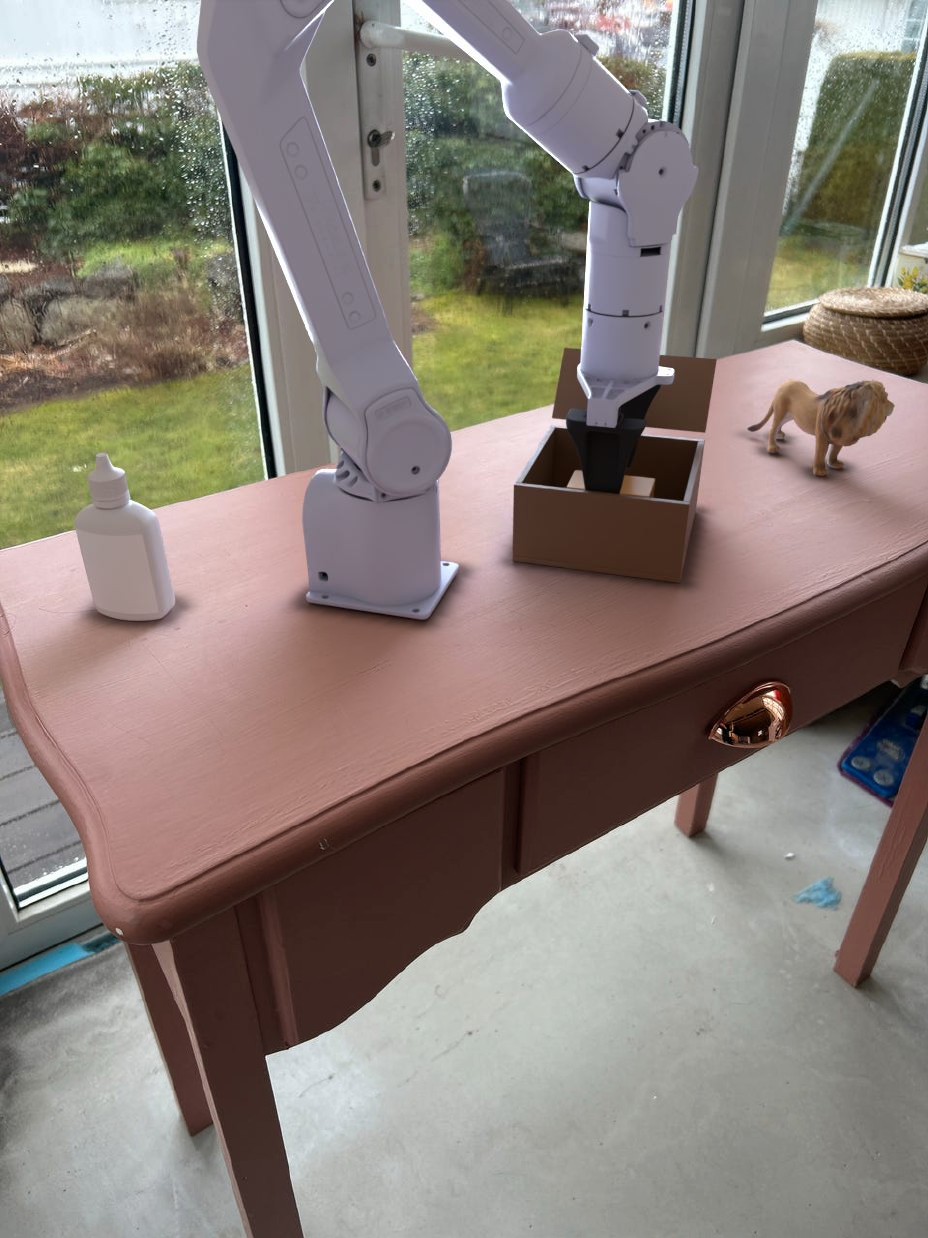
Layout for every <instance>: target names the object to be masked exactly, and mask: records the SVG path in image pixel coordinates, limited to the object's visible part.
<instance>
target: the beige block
mask: <svg viewBox="0 0 928 1238" xmlns="http://www.w3.org/2000/svg"><path fill="white" fill-rule="evenodd" d="M566 488H568V489H577V490H585V486H584V480H583V473H582V471H580V470H575V472H574V474H573V475H572V477H571V479H570V481H569V483H568V485H567V487H566ZM654 489H655V478H646V477H636V476H627V475H624V480H623V484H622V487H621V491H620V494H622V495H631V496H640V497H649V498H654Z"/></svg>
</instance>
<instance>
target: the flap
mask: <svg viewBox="0 0 928 1238" xmlns="http://www.w3.org/2000/svg"><path fill="white" fill-rule="evenodd" d="M561 358H562V359H561V362H560V369H559V375H558V379H557V386H556V392H555V397H554V402H553V408H552V415H551V419H553V420H554V419H555V420H565V421H566V416H567V414H568V412H569V411H570V409H581V410H587V408H588V398H587V396H586V394H585V392H584V390H583V388H582V386H581V384H580V382H579V380H578V378H577V368H578V365H579V364H580V363H581V348H573V347H563V352H562V357H561ZM717 362H718V359H717V358H711V357H709V358H707V357H696V356H682V355H669V354H668V355H667V354H660V359H659V366H660V367H665V368H672V369H674V370H675V374H674V380H673V383H672V384H670V385H661V388H660V389H659V391H658V392H657V394H656V395H655V397H654V399H653V400H652V402H651V404H650V406H649V408H648V410H647V413H646V416H645V419H644V420H647V421H648V422H647V424H646V427H645V428H650V429H661V430H673V431H683V432H691V433H702V434H705V433H706V432H707V425H708V419H709V412H710V406H711V399H712V393H713V386H714V381H715V373H716V367H717Z"/></svg>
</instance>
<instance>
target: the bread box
mask: <svg viewBox="0 0 928 1238" xmlns="http://www.w3.org/2000/svg"><path fill="white" fill-rule="evenodd" d="M705 443H706V439H700V438H690V437H679V436H678V437H677V436H669V435H659V434H658V435H657V434H649V433H648V434H647V433H642V434H641V436H640V437H639V441H638V444H637V448H636V451H635V455H634V458H633V460H632V463H631V465H630V467H626V471H625V475H627V476H636V477H646V478H655V489H654V498H649V497H640V496H631V495H622V494H613V493H604V492H595V491H586V490H577V489H568V488H566V487H567V485H568V483H569V481H570V479H571V477H572V475H573V474H574V472H575V470H580V471H582V467H581V462H580V458H579V455H578V452H577V449H576V446H575V444H574V442H573V439H572V438H571V436H570V434H569V432H568V431H567V427H566V425H565V426H564V425H553V424H551V425H550V426H549V428H548V429H547V430H546V433H545V434H544V435H543V437H542V439H541V441H540V442H539V444H538V446H537V447H536V449H535V450H534V452H533V454H532V455H531V457H530V459H529V460H528V462H527V463H526V465H525V467H524V468H523V469H522V471H521V473H520V474H519V476H518V478H517V479H516V481H515V483H514V484H513V505H512V506H513V507H512V509H513V510H512V559H511V560H512V562H518V563H520V562H521V563H527V564H533V565H540V566H541V565H542V566H549V567H556V568H564V569H572V570H579V571H586V572H595V573H601V574H610V575H617V576H625V577H632V578H639V579H647V580H653V581H662V582H667V583H668V582H669V583H677V584H680V583H681V580H682V574H683V571H684V566H685V561H686V557H687V552H688V547H689V543H690V539H691V535H692V529H693V525H694V521H695V516H696V512H697V506H698V505H697V504H698V497H699V489H700V482H701V473H702V467H703V458H704V453H705V452H704V451H705Z"/></svg>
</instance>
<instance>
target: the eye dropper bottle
mask: <svg viewBox="0 0 928 1238" xmlns="http://www.w3.org/2000/svg"><path fill="white" fill-rule="evenodd" d="M86 480H87V483H88V488H89V493H90V497H91V500H92V501H91V503H90V504H88V505H86V506H85V507H83V508H81V510H80V511H79V512H78V513H77V514H76V516H75V518H74V528H75V532H76V537H77V542H78V545H79V550H80V553H81V554H80V555H81V558H82V561H83V565H84V566H83V567H84V569H85V574H86V577H87V581H88V586H89V590H90V593H91V597H92V601H93V605H94V607H95V609H96V610H97V612H98V613H100V614H101V615H103V616H106V617H109V618H112V619H116V620H122V621H127V622H143V621H145V622H147V621H156V620H160V619H163V618H164V617H165V616H167V614H168V613H169V612H170V611H171V610H172V609H173V607H174V606H175V604H176V598H175V592H174V587H173V582H172V576H171V572H170V568H169V563H168V557H167V552H166V548H165V544H164V538H163V533H162V529H161V525H160V521H159V518H158V515H156V513H155V512H154V511H153V510H151V509H150V508H149V507H147V506H145V505H143V504H141V503H139V502H137V501H134V500H132V499H131V495H130V490H129V485H128V481H127V475H126V472H125V470H123V469H122V468H121V467H114V466H113V464H112V462H111V460H110V458H109V456H108V453H107V452H99V453H96V455H95V469H94V470H93V471H91V472H89V473H88V474H87V476H86Z"/></svg>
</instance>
